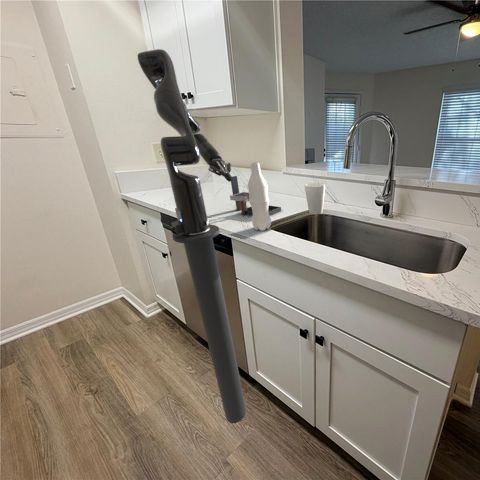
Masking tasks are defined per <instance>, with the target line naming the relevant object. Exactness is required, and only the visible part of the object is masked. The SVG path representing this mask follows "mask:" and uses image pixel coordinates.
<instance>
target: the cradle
mask: <svg viewBox="0 0 480 480" xmlns="http://www.w3.org/2000/svg"><path fill="white" fill-rule="evenodd" d="M234 202H235V208H236V209H235V210H236V211H239V212H240V211H241V210H242V211H241V214H242V213H243V214H242V216H247V215H246V208H248V205H247V203H245V201H244V200H241V201H234Z"/></svg>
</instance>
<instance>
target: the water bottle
mask: <svg viewBox="0 0 480 480" xmlns="http://www.w3.org/2000/svg"><path fill="white" fill-rule="evenodd" d="M261 170H262V169H261V166H260V162H250V171H251V174H250V176H249V179H248V182H247V191H248V193H249V198H250V201H249V205H250V207H252V211H253V216H252V221H251V224H252V226H253V228H254V230H256V231H261V232H262V231H263V232H264V231H265V230H266V229H267V230H269V229H270V228H271V225H272V219H271V217H270V216H271V215H270V216H269V211H268V206H270V198H269V191H268V183H267V180H266V179H265V178H264V176H263V174H262V172H261Z"/></svg>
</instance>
